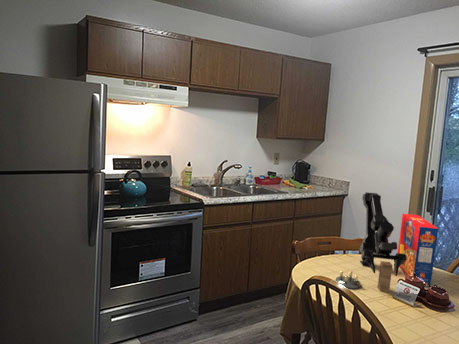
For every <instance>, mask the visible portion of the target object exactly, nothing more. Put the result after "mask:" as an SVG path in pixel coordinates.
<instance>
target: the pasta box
mask: <svg viewBox="0 0 459 344" xmlns="http://www.w3.org/2000/svg"><path fill="white" fill-rule="evenodd" d="M401 216H402V217H401V223H400V232H399V238H398V245H397V253H402V254H405V255H406V256H407V260H406V261H405V262H404V264H401V265H400V266H399V269H400V271H402V272H403V274H404V275H405V276H406V277H407V276H413V272H415V273H416V276H417V277H419V278H422V279H423V280H424V282H425V283H428V284H429V285H430V286H431V285H432V284H431V283H432V277H433V270H434V263H435V256H436V247H437V240H438V233H439V228H438V227H436V225H434V224H432V223H431V222H430V221H428V220H426V219H425V218H423V217H421V215H419V214H410V213H409V214H408V213H402V215H401Z"/></svg>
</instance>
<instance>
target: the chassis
mask: <svg viewBox="0 0 459 344" xmlns="http://www.w3.org/2000/svg"><path fill="white" fill-rule="evenodd" d="M343 274H344V271H340V272H339V276H337V277H336V278H335V281H337V282H338V283H340V284H342V285H344V286H345V287H347V288H346V289H349V290H350V289H351V290H356V289H360V288H361V281H359V280H358V278H359V276H358V275H354V278H353V271H351V270H350V271H349V275H345V276H343Z"/></svg>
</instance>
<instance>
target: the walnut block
mask: <svg viewBox="0 0 459 344" xmlns="http://www.w3.org/2000/svg"><path fill="white" fill-rule="evenodd" d="M392 273H393V264H392V263H391V261H385V260H384V261H383V260H381V261H380V264H379V272H378V279H377V280H378V281H377V289H378V291H379V292H384V293H390V289H391V280H392V278H391V277H392Z"/></svg>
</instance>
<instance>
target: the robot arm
mask: <svg viewBox="0 0 459 344" xmlns="http://www.w3.org/2000/svg"><path fill="white" fill-rule="evenodd" d="M361 198H362V201H363V202H362V203H363V206H364V207H365V209H366V213H365V214H366V217H365V220H366V221H365V222H366V223H365V224H366V225H365V226H366V227H365V228H366V229H365V233H366V234H365V236H364V238H363V239H362V243H361V244H360V246H359V252H360V253H361V255H360V256H361V258H360V259H361V260H360V261H359V262H360V264H361V265H362V267H370V269H371V271H372V272H373V274H376V265H375V259H382V260H383V259H384V260H392V261H393V262H394V263H393V268H394V269H393V270H394V276H395V277H396V276H398V273H399V269H400V267H399V266H400V265H401V264H404V262H405V261H406V260H407V256H406V255H405V254H402V253H398V252H396V253H395V255H392V253H393V251H394V250H395V251H396V250H398V243H397V242H396V241H392V242H389V238H390V237H391V235H392V233H393V231H394V230H395V229H394V228H395V226H394V225H393V224H392V223H391V222H390V221H389V220H388V219H387V217H386V216H385V215H384V212H383V207H382V203H381V200H382V199H381V198H382V195H380V194H378V193H377V192H364V193H363V194H362V197H361Z"/></svg>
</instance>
